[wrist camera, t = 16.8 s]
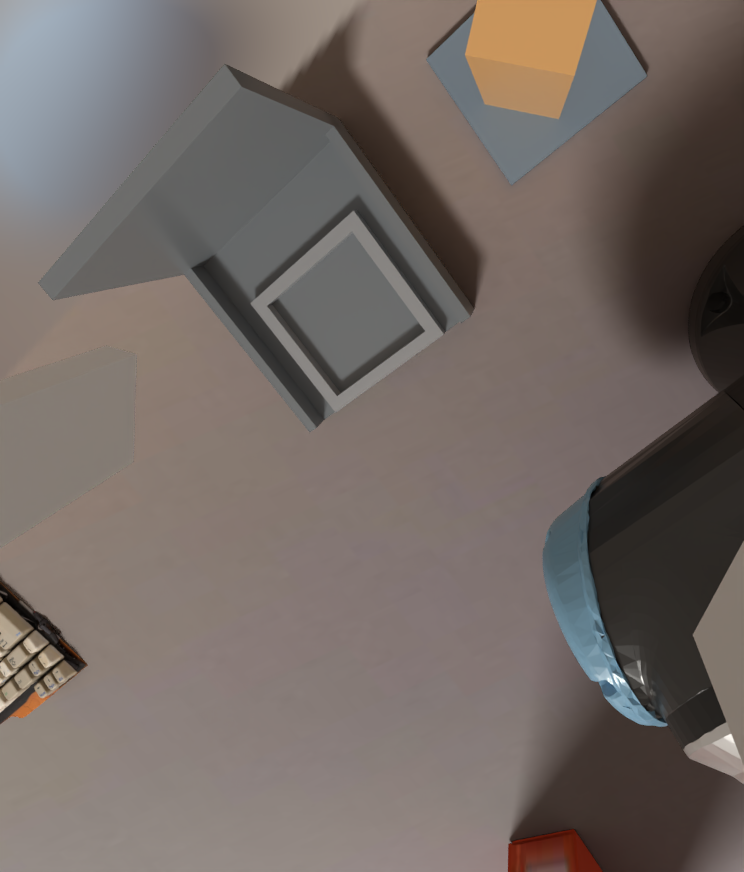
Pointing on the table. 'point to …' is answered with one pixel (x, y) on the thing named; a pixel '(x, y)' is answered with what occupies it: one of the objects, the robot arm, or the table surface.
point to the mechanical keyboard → (30, 658)
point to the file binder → (551, 854)
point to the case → (274, 244)
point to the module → (527, 52)
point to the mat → (533, 134)
